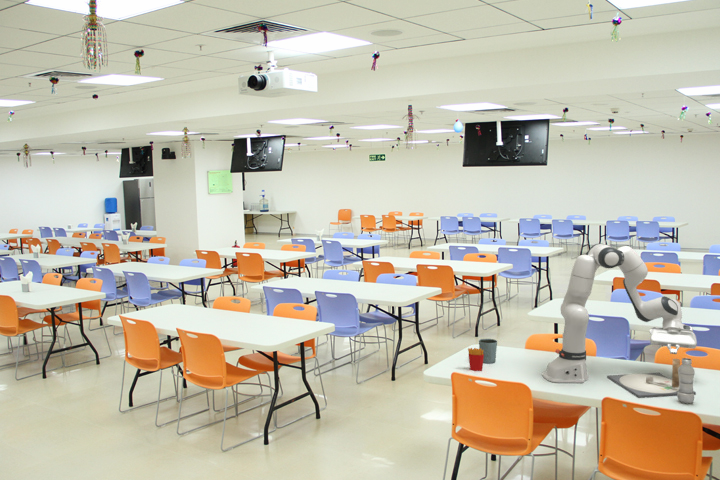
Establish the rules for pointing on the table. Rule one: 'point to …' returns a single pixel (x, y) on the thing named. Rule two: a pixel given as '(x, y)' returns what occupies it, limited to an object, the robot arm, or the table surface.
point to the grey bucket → (488, 350)
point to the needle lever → (674, 376)
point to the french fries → (476, 359)
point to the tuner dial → (645, 384)
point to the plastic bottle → (686, 381)
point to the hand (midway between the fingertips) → (673, 353)
